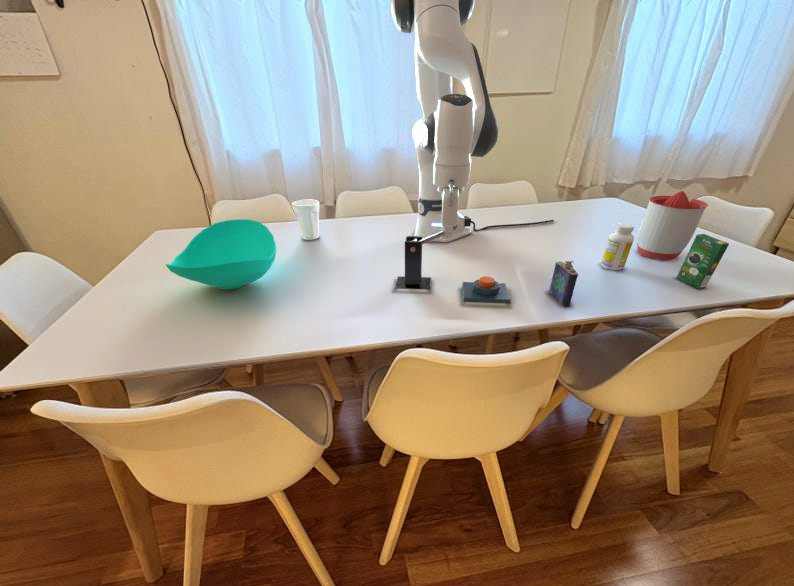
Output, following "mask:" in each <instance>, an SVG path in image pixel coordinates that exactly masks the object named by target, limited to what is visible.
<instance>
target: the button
mask: <svg viewBox="0 0 794 586" xmlns="http://www.w3.org/2000/svg"><path fill="white" fill-rule="evenodd" d="M478 280H479V286H480V287H483V288H492V287H494V282H495V281H496V280H495V278H494V277H492V276H481V277H479V279H478Z"/></svg>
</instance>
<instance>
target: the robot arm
mask: <svg viewBox="0 0 794 586" xmlns="http://www.w3.org/2000/svg"><path fill="white" fill-rule="evenodd" d="M390 3H391V5H390V6H391V8H390V9H391V15H392V19H393V21H394V23H395V26H396V28H397V29H398V30H399V32H401V33H404V34H412V33H413V32H414V33H415V37H414V38H415V40H414V61H415V63H414V65H415V78H416V79H415V80H416V95H417V99H418V101H419V103H420V107H421V110H422V115H423V116H422V117H421V118H419V119H418V120H417V121H416V122H415V123H414V125H413V128H412V134H411V135H412V139H413V142H414V147H415V152H416V160H417V166H418V197H417V221H416V226H415V230H414V234H413V236H422V239H424V238H427V237H429V236H431V235H433V234H436V233H438V232H440V231H443V230H444V231H445V232H444V235H443V236H441V237H439V238H436V239H434V240H432V241H431V242H437V243H438V242H439V243H441V242H442V243H449V242H452V241H455V240H458V239H460V238H463V237H465V236H468V235H470V234H471V229H470V228H468V227H471V226H472V225H473V226H472V230H473V231H474V232H478V231H484V230H486V229H491V228H504V227H505V228H506V227H521V226H531V225H539V224H547V223H552V222H554V221H555V220H554V219H549V220H542V221H534V222H525V223H510V224H509V223H508V224H495V225H488V226H485V227H482V228H480V229H477V228H476V223H475V222H474V221H473V220H472V218H470V217H469V216H467V215H463V214H461V212H459V201H460V195H459V194H463V193H464V188H465V187H468V186H469V185H470V178H471V167H472V159H471V157H475V158H484V157H485V156H486V155H487V154H489V153H490V152H491V151H492V150H493V148H494V147H495V146H496V145H497V142H498V139H499V138H498V136H499V124H498V120H497V119H498V118H497V116H496V114H495V111H494V110H493V107H492V104H491V100H490V95H489V91H488V87H487V84H486V83H487V82H486V78H485V75H484V69H483V67H482V62H481V58H480V55H479V51H478V49H477V46H476V45H475V44H474V43H472V42H471V41H470V40H469V38H468V37H467V35H466V34H465V32H464V30H463V27H462V26H463V25H465V24H466V23H467V22H468V21H469V20H470V18H471V17H472V15H473V11H474V7H475V3H476V0H391V1H390ZM453 78H455V79H456V80H457V81H459V82H460V83H461V84H462V86H464V89H465V93H466V94H460V93H454V90H453V89H454V88H453ZM471 224H472V225H471Z"/></svg>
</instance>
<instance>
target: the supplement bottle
mask: <svg viewBox="0 0 794 586" xmlns="http://www.w3.org/2000/svg"><path fill="white" fill-rule="evenodd" d="M634 229H635V226H634V225H633V224H630V223H625V222H624V223H623V222H621V223H617V224H616V226H615V231H614V232H612V233H610V235H609V237H608V240H607V243H606V246H605V250H604V253H603V256H602V259H601V263H600V264H601V267H603V268H604V269H605V270H611V271H621V270H623V269H624V268H625V266H626V263H627V260H628V257H629V254H630V252H631V250H632V246H633V243H634V240H635V236H634V235H633V234H632V233H633V231H634Z"/></svg>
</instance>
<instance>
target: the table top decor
mask: <svg viewBox="0 0 794 586" xmlns="http://www.w3.org/2000/svg"><path fill="white" fill-rule="evenodd" d="M276 255H277V245H276V239H275V237H274V235H273V233H272V231H270V229H269V228H268V227H267V226H265V225H264V224H263V223H262V222H260V221H258V220H253V219H247V218H246V219H244V218H243V219H241V218H240V219H239V218H238V219H228V220H223V221H220V222H215V223H213V224H211V225H209V226H207V227H205V228H204V229H202V230H201V231H200V232H199V233H197V234H196V235H195V236H194V237H192V239H191V240H190V242H189V243H188V244H187V245H186V247H185V248H184V250H182V251H181V252H180V253H179V254H177V255H176V256H175V257H174V259H173V260H172V261H171V262H170V263H167V262H166V263H165V266H166V268H167V269H169V271H170V272H171V273H173V274H175V275H176V276H178V277H181V278H183V279H187V280H189V281H193V282H197V283H200V284H203V285H207V286H210V287H213V288H218V289H222V290H237V289H239V288H241V287H243V286H245V285H247V284H251V283H254V282H255V281H257V280H259V279H261V278H263V276H265V274H266V273H268V271H269V270H270V269H271V267H272V266H273V263H274V262H275V260H276Z"/></svg>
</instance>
